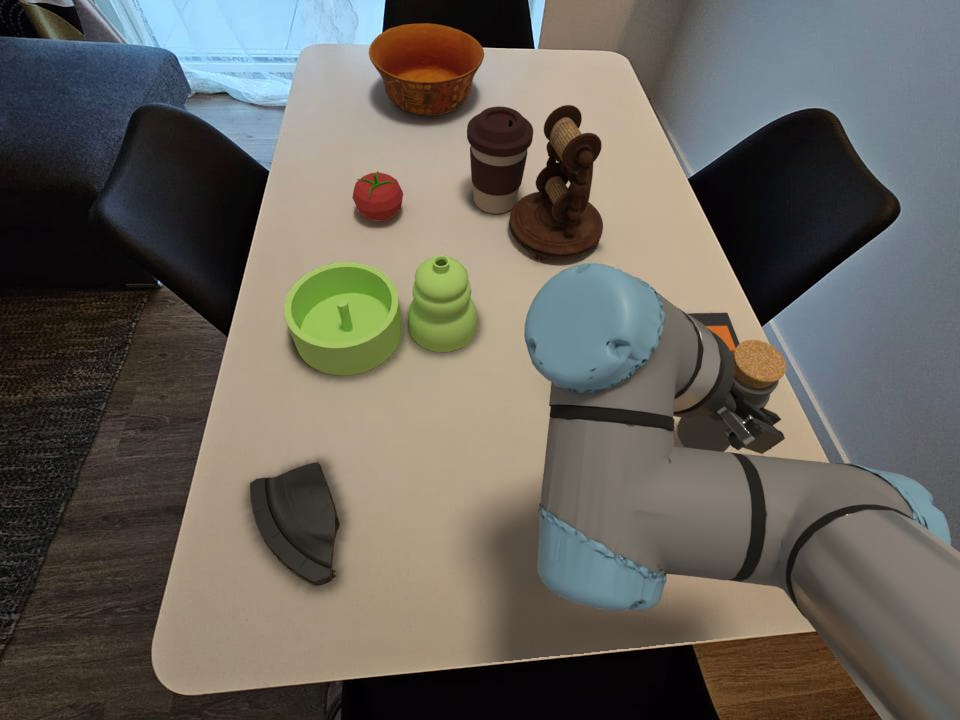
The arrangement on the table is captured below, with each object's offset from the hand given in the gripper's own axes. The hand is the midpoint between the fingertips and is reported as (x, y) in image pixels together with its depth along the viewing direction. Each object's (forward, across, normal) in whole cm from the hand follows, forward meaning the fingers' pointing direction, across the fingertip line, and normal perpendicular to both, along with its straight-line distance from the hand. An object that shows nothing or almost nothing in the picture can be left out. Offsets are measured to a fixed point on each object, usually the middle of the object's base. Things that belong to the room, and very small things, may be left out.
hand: (746, 399), depth 61 cm
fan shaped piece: (-26, -12, -42) cm, 51 cm away
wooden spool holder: (+9, -41, -7) cm, 43 cm away
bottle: (+1, 0, -6) cm, 7 cm away
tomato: (-8, -56, -24) cm, 62 cm away
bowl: (+6, -84, -10) cm, 85 cm away
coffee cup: (+5, -52, -11) cm, 53 cm away
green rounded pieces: (-13, -33, -30) cm, 46 cm away
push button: (+13, -11, -3) cm, 17 cm away
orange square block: (+11, -11, 0) cm, 15 cm away
